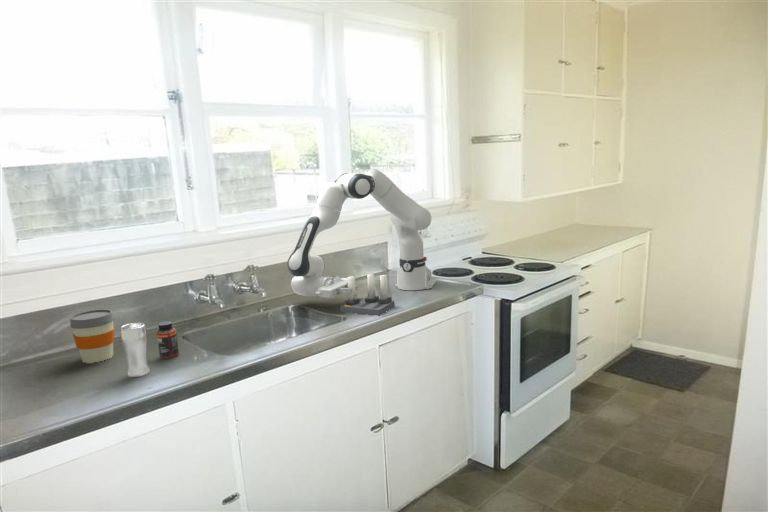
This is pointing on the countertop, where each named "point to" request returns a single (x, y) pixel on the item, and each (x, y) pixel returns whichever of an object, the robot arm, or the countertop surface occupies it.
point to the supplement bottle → (167, 340)
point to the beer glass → (135, 348)
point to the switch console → (372, 299)
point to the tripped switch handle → (352, 295)
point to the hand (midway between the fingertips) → (353, 289)
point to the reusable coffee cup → (93, 334)
